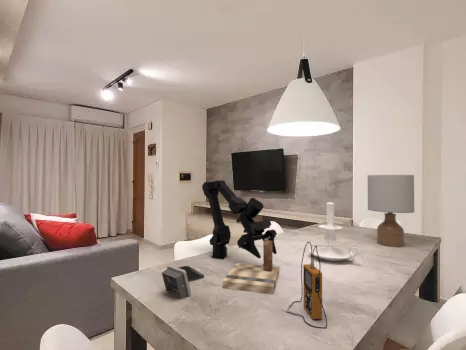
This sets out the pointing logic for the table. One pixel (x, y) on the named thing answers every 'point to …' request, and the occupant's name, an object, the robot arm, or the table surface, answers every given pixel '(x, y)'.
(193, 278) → the phone
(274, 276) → the board
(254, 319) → the table surface
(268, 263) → the brown round-topped cylinder
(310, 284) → the multimeter
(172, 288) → the electrical switch
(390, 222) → the lamp
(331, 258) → the candlestick
